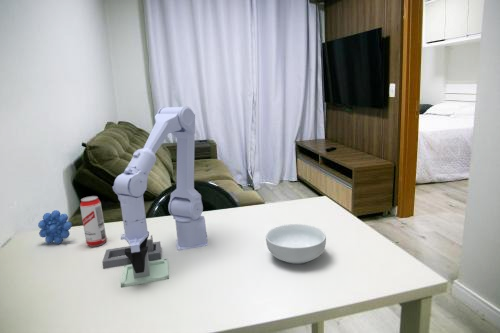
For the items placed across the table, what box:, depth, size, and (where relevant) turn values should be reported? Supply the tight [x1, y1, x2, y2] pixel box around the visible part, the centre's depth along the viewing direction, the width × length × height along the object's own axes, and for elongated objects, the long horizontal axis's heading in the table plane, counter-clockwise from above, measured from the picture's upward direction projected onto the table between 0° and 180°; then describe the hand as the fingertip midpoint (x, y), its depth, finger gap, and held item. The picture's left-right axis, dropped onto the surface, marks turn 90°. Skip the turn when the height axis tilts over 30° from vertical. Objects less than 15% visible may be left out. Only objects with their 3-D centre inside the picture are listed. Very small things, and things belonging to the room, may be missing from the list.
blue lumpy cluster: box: [38, 210, 73, 245], centre depth 117 cm, size 12×7×12 cm, turn 87°
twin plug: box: [146, 234, 154, 252], centre depth 103 cm, size 4×4×6 cm
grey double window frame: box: [101, 241, 162, 270], centre depth 103 cm, size 16×8×3 cm, turn 104°
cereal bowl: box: [265, 223, 327, 265], centre depth 98 cm, size 17×17×7 cm
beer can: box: [79, 195, 108, 248], centre depth 113 cm, size 6×6×16 cm
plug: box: [131, 251, 150, 279], centre depth 93 cm, size 4×4×6 cm
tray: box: [120, 258, 170, 288], centre depth 93 cm, size 12×10×1 cm
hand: (140, 265), depth 93 cm, fingers open, 7 cm apart
